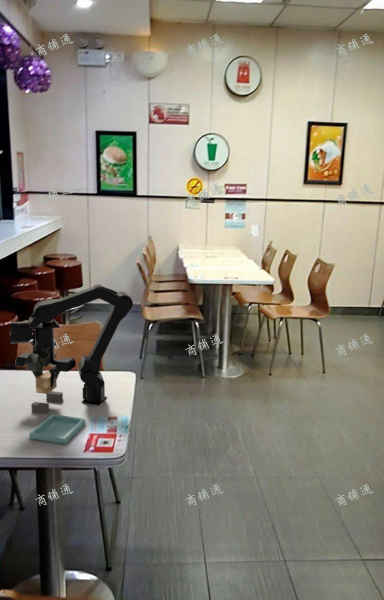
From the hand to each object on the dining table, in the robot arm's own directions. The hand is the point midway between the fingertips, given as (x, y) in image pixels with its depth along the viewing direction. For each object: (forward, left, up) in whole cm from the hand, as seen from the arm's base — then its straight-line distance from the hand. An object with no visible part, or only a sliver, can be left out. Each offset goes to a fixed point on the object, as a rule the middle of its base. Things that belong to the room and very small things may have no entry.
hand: (46, 386), depth 160 cm
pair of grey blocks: (0, 0, -7) cm, 7 cm away
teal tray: (-12, +15, -7) cm, 20 cm away
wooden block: (0, 0, -1) cm, 1 cm away
